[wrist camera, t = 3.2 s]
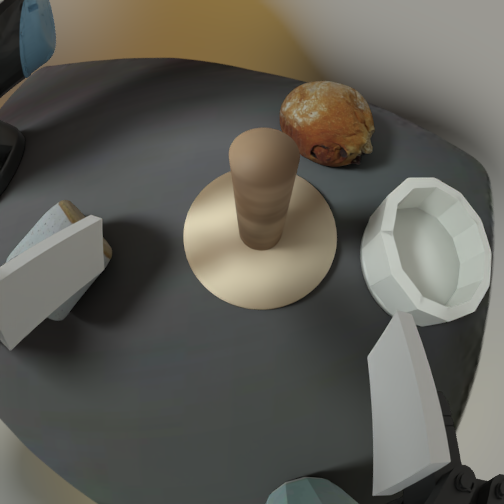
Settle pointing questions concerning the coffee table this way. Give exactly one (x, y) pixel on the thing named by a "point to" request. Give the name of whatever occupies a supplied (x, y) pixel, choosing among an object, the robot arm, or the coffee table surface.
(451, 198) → the bowl
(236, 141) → the lid
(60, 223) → the ceramic mug
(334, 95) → the bread roll
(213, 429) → the coffee table surface
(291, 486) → the disposable coffee cup
